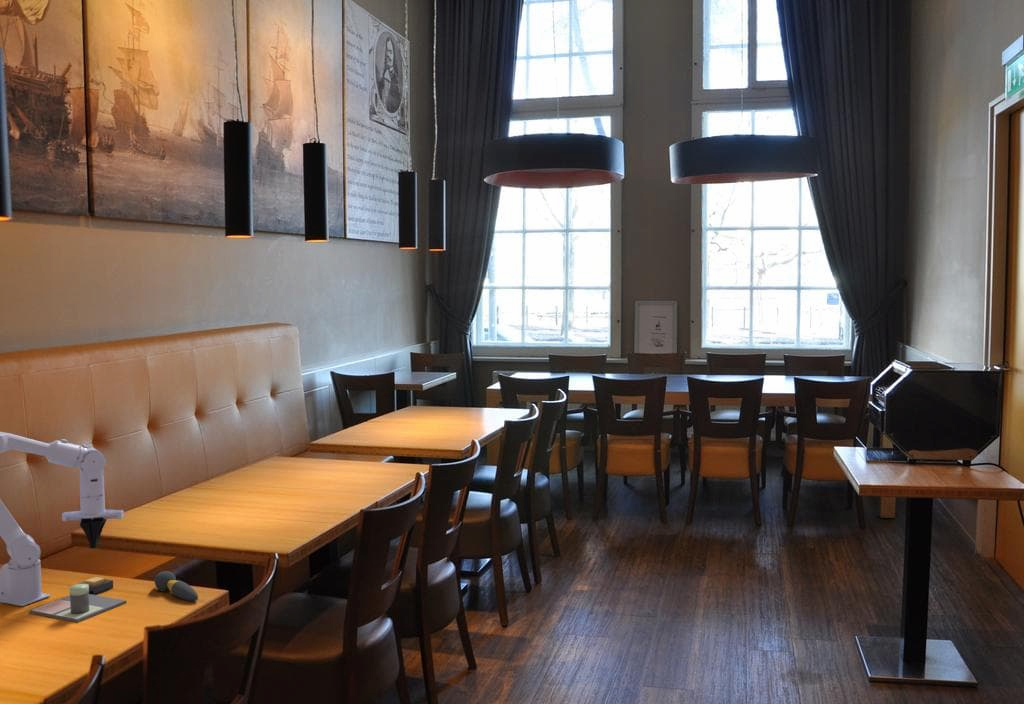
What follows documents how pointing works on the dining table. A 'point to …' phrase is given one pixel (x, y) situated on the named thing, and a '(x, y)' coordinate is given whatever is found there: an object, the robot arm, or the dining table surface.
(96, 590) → the button housing
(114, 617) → the dining table surface
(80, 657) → the dining table surface
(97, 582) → the button
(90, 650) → the dining table surface
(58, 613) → the picture board
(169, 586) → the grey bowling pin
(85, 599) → the green lidded grey jar
